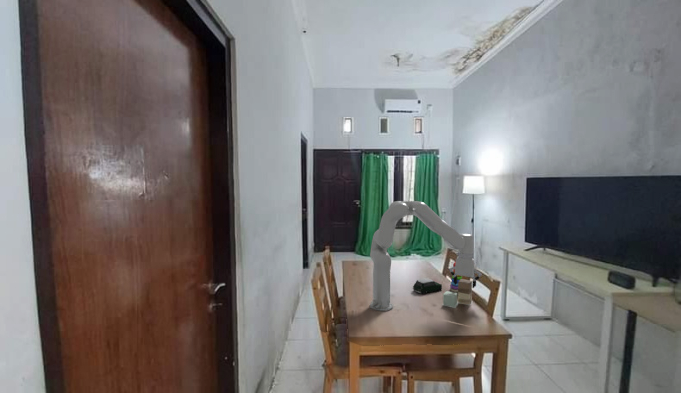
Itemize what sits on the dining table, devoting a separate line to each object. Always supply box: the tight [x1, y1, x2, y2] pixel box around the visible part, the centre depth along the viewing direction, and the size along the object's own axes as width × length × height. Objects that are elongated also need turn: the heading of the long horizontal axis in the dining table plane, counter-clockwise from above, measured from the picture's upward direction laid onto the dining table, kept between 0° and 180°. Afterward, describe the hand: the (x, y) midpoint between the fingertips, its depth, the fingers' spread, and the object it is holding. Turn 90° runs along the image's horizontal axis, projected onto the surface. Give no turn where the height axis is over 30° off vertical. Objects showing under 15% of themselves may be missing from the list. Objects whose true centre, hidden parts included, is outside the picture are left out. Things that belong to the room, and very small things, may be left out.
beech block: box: [457, 291, 473, 306], centre depth 174 cm, size 6×6×6 cm
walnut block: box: [457, 278, 473, 294], centre depth 173 cm, size 6×6×6 cm
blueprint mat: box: [441, 300, 474, 309], centre depth 171 cm, size 20×17×1 cm
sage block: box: [442, 290, 458, 308], centre depth 171 cm, size 6×6×6 cm
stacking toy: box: [449, 261, 463, 293], centre depth 192 cm, size 8×8×19 cm
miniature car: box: [412, 277, 443, 295], centre depth 193 cm, size 9×18×8 cm, turn 114°
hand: (464, 285), depth 173 cm, fingers open, 9 cm apart
